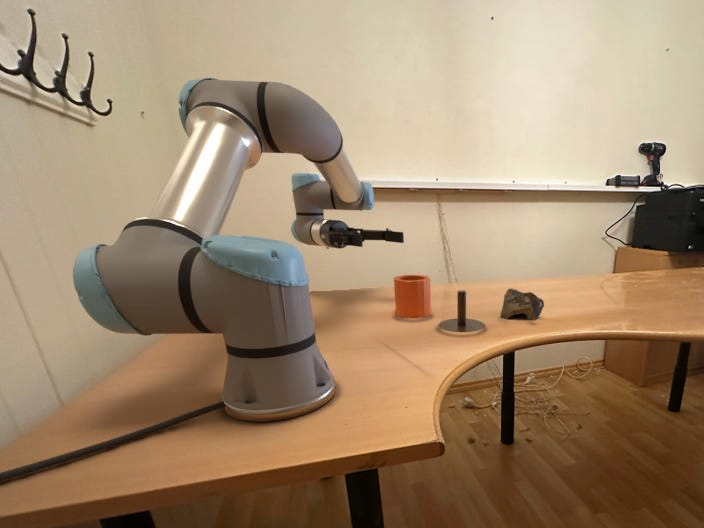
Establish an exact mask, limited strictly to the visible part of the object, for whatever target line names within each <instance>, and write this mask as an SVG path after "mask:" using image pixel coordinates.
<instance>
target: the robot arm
mask: <svg viewBox="0 0 704 528" xmlns="http://www.w3.org/2000/svg"><path fill="white" fill-rule="evenodd" d="M178 104H179V106H180V107H178V115H179V120H180V122H181V125H182V128H183V130H184V133H185V134H186V135H187V137H188V140H187V142H186V144H185V146H184V147H183V149H182V151H181V153H180V155H179V157H178V159H177V161H176V162H175V164H174V166H173V167H172V169H171V171H170V174H169V175H168V177H167V179H166V181H165V182H164V185H163V186H162V188H161V190H160V191H159V194H158V195H157V198H156V200H155V201H154V203H153V205H152V207H151V209H150V211H149V213H148V214H147V216H145V217H137V218H134V219H132V220H130V221H129V222H128V223H127V224H126V225H125V226H124V227H123V229H122V231H121V232H120V234H119V236H118V238H117V240H116V241H115V242H114V243H113V244H111V245H107V244H105V243H102V244H101V243H98V244H94V245H91V246H87V247H85V248H83V249H82V250H81V251H80V252H79V253H77V255H76V257H75V259H74V262H73V267H72V281H73V282H72V283H73V287H74V290H75V291H76V293H77V297H78V301H79V302H80V304H81V306H82V307H83V309H84V311H85V312H86V313H87V314H88V316H89V317H90V318H91V319H92V320H93V321H94V322H96V323H97V324H98V325H99V326H101V327H102V328H104V329H106V330H107V331H109V332H113V333H117V334H123V335H124V334H127V335H128V334H129V335H130V334H131V335H140V336H146V337H147V336H152V335H178V334H179V335H180V334H181V335H183V334H184V335H186V334H188V335H189V334H194V335H197V334H200V335H201V334H220V335H222V337H223V341H224V345H225V350H226V355H227V360H226V366H225V367H226V369H225V374H224V381H223V387H222V394H221V401H218V402H216V403H213V404H210V405H207V406H204V407H201V408H198V409H194V410H193V411H189V412H187V413H184V414H181V415H178V416H175V417H172V418H170V419H168V420H164V421H162V422H159V423H156V424H153V425H150V426H147V427H144V428H141V429H137V430H135V431H132V432H129V433H126V434H123V435H120V436H117V437H113V438H111V439H108V440H105V441H102V442H98V443H94V444H92V445H89V446H86V447H82V448H78V449H76V450H73V451H70V452H67V453H66V452H65V453H63V454H59V455H57V456H52V457H50V458H46V459H43V460H40V461H36V462H33V463H29V464H26V465H21V466H19V467H16V468H12V469H9V470H5V471H2V472H0V482H3V481H7V480H10V479H14V478H16V477H20V476H23V475H26V474H30V473H33V472H37V471H41V470H44V469H46V468H50V467H52V466H56V465H60V464H62V463H67V462H69V461H72V460H75V459H79V458H81V457H86V456H88V455H91V454H94V453H98V452H101V451H103V450H106V449H109V448H113V447H116V446H118V445H121V444H124V443H127V442H130V441H134V440H136V439H139V438H142V437H144V436H147V435H150V434H154V433H157V432H159V431H162V430H165V429H167V428H170V427H173V426H176V425H179V424H180V423H181V424H182V423H184V422H186V421H189V420H191V419H194V418H197V417H200V416H203V415H206V414H209V413H212V412H214V411H215V412H216V411H217V410H220V409H223V408H224V411H225V412H226V414H228V416H230V417H232V418H234V419H237V420H240V421H248V422H273V421H281V420H287V419H291V418H294V417H298V416H302V415H305V414H307V413H310V412H312V411H314V410H317V409H318V408H320V407H322V406H324V405H325V404H327V403H328V402H329V401H330V400H331V399H332V398H333V397H334V395H335V394H336V383H335V377H334V374H333V373H332V371H331V369H330V367H329V364H328V361H327V358H326V357H325V356H323V354H322V352H321V349H320V348H319V346H318V344H317V339H316V331H315V323H314V315H313V308H312V302H311V295H310V294H311V293H310V285H309V283H310V278H309V275H308V274H307V270H306V269H307V268H306V264H305V259H304V255H303V253H302V252H301V250H300V249H299V248H298V247H297V246H295V245H294V244H292V243H289V242H286V241H283V240H278V239H273V238H268V237H260V236H249V235H233V234H232V235H231V234H222V233H221V232H222V230H223V227H224V224H225V222H226V219H227V217H228V215H229V212H230V209H231V206H232V204H233V201H234V200H235V196H236V194H237V191H238V188H239V186H240V184H241V181H242V178H243V176H244V173H245V171H248V170H250V169H252V168H254V167H255V166H256V165H258V163H259V162H260V160H261V157H262V154H293V155H294V154H296V155H301V156H302V157H303V158H304V159H306V160H307V161H309V162H311V163H313V165H314V166H315V168H316V169H317V170H318V172H319V173H320V174H321V176H322V178H324V180H321V177H320V176H319V174H317V173H311V172H310V173H306V172H295V173H292V175H291V187H292V188H291V192H292V195H293V202H294V209H295V219H294V220H293V221H292V223H291V227H290V231H291V234H292V237H293V238H294V239H295V240H296V242H299V243H301V244H305V245H308V246H317V247H325V249H326V250H329V249H330V248H331V249H339V250H340V249H344V248H346V247H348V246H350V247H358V248H362V247H364V246H363V242H365V241H385V242H388V243H399V244H404V243H405V238H404V232H403V231H395V230H391V229H389V227H386V228H385V230H382V229H364V228H354V227H349V225H348V224H347V223H346V222H344V221H343V220H340V219H339V220H338V219H328V218H327V219H326V218H325V214H324V213H325V212H324V210H326V211H327V210H329V211H331V210H333V211H334V210H336V211H360V212H361V211H372V210H373V209H374V205H375V194H374V187H373V185H372V184H371V183H370V182H364V181H360V179H359V176H358V175H357V172H356V171H355V169H354V167H353V165H352V162H351V160H350V159H349V157H348V155H347V153H346V151H345V149H344V147H343V146H344V139H343V134H342V132H341V130H340V128H339V126H338V124H337V122H336V120H335V119H334V118H333V117H332V115H331V114H330V113H329V112H328V111H327V110H326V109H325V108H324V107H323V106H322V104H320V103H319V102H317V101H316V100H315V99H314V98H312V97H311V96H310V95H308V94H307V93H305V92H303V91H301V90H300V89H299V88H296V87H295V86H292V85H290V84H286V83H282V82H279V81H278V82H277V81H254V80H253V81H252V80H230V79H229V80H226V79H217V78H214V77H203V78H200V79H199V78H196V79H190V80H188V81H187V82H185V83H184V84H183V86H181V90H180V91H179V94H178Z"/></svg>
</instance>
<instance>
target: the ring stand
mask: <svg viewBox="0 0 704 528" xmlns="http://www.w3.org/2000/svg"><path fill="white" fill-rule="evenodd" d="M456 303H457V306H456V307H457V308H456V309H457V312H456V313H457V315H456V316H457V317H456V318H448V319H444V320H442V321H440V322H439V323H438V327H439V328H440V329H441V330H443V331H446V332H453V333H472V332H477V331H481V330H483V329H484V328H485V327H486V324H485V323H484V322H483V321H481V320H478V319H474V318H467V290H464V289H460V290H459V289H458V290H457V302H456Z"/></svg>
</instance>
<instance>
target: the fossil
mask: <svg viewBox="0 0 704 528" xmlns="http://www.w3.org/2000/svg"><path fill="white" fill-rule="evenodd" d="M503 297H504V298H503V302H502V303H503V304H502V307H501V310H500V311H501V312H500V318H501V319H506V320H507V319H509V318H510V317H513V316H514V315H516V316H518V315H519V314H520V315H521V314H523V315H525V316H526V319H527V321H537V320H538V318H539V317H540V316H541V313H542V311H543V310H544V307H545V302H544V299H542V298H541V297H538V295H536V294H535V293H533V292H531V291H528V292H523V291H519V290H518V289H516V288H508V289H507V290H506V292H505V294H504V295H503Z"/></svg>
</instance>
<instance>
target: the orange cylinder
mask: <svg viewBox="0 0 704 528" xmlns="http://www.w3.org/2000/svg"><path fill="white" fill-rule="evenodd" d="M393 287H394V290H393V291H394V304H395V305H394V306H395V314H396V316H397V317H399V318H405V319H420V318H426V317H429V316H430V315H431V314H432V299H431V298H432V297H431V295H432V294H431V277H430V276H428V275H423V274H403V275H401V274H400V275H397V276H394V277H393Z"/></svg>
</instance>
